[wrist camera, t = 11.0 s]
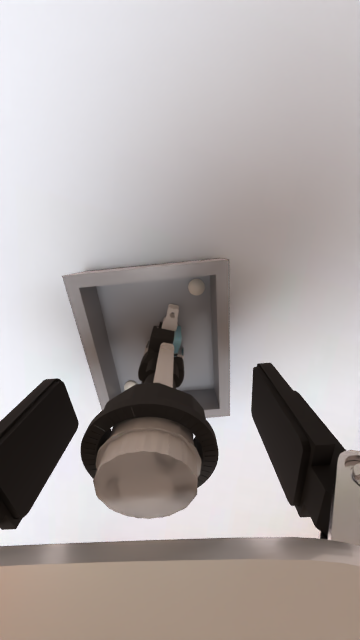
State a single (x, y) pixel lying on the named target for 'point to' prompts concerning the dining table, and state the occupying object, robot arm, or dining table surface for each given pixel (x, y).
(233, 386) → the dining table surface
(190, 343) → the junction box
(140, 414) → the push button
